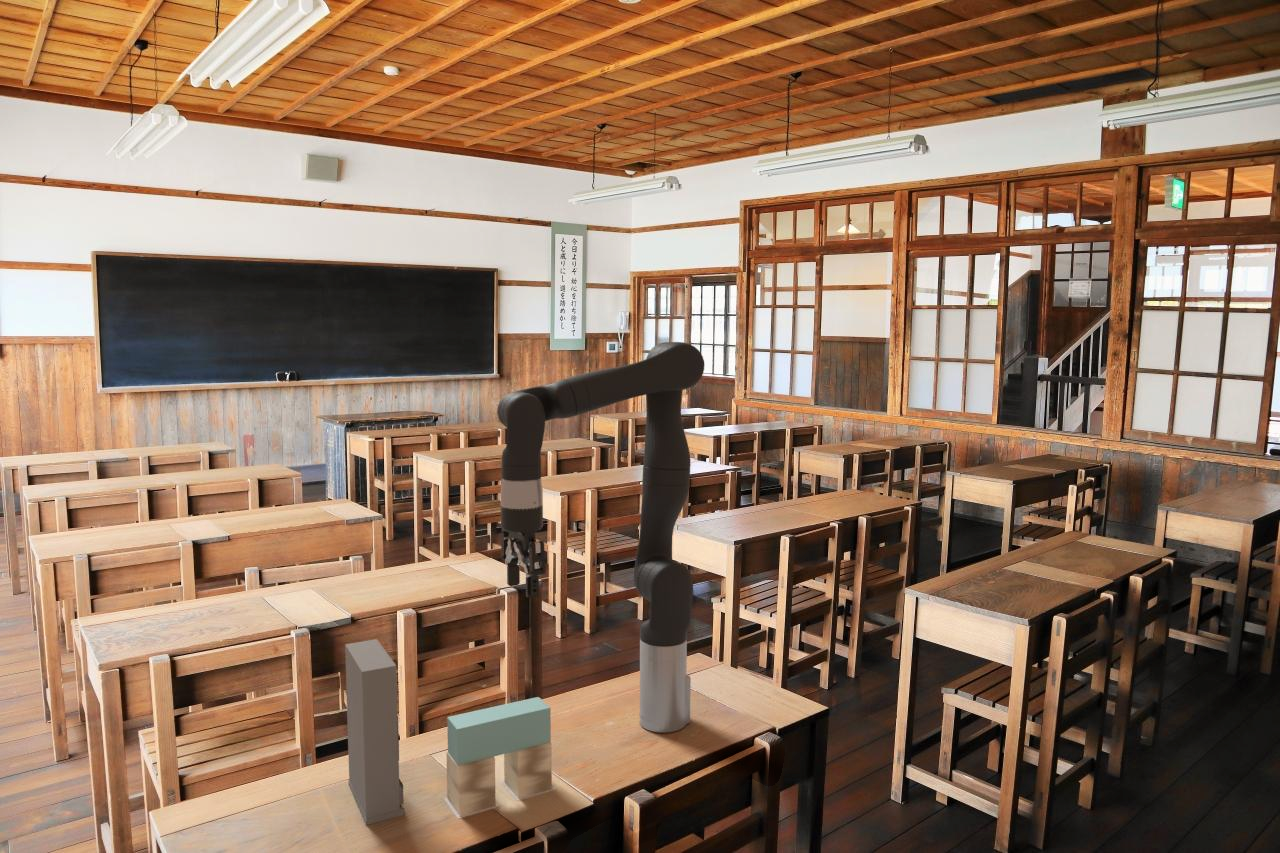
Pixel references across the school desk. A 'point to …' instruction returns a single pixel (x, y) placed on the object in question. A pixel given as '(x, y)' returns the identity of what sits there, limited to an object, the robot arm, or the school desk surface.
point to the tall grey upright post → (373, 731)
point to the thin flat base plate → (496, 802)
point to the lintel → (498, 730)
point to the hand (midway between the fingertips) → (522, 590)
